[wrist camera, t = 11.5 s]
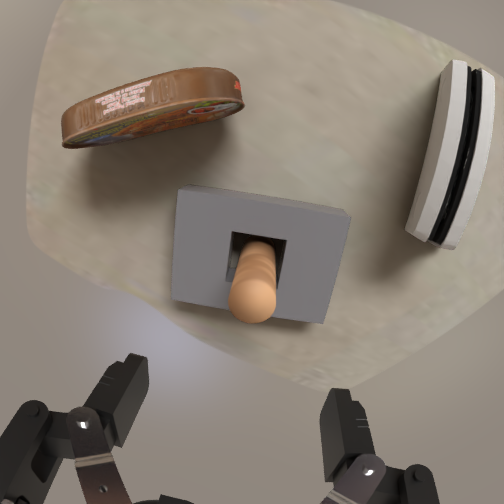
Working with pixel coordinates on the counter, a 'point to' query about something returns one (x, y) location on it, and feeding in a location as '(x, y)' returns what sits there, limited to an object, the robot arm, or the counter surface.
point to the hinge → (454, 156)
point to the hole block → (263, 224)
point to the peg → (254, 281)
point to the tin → (152, 106)
